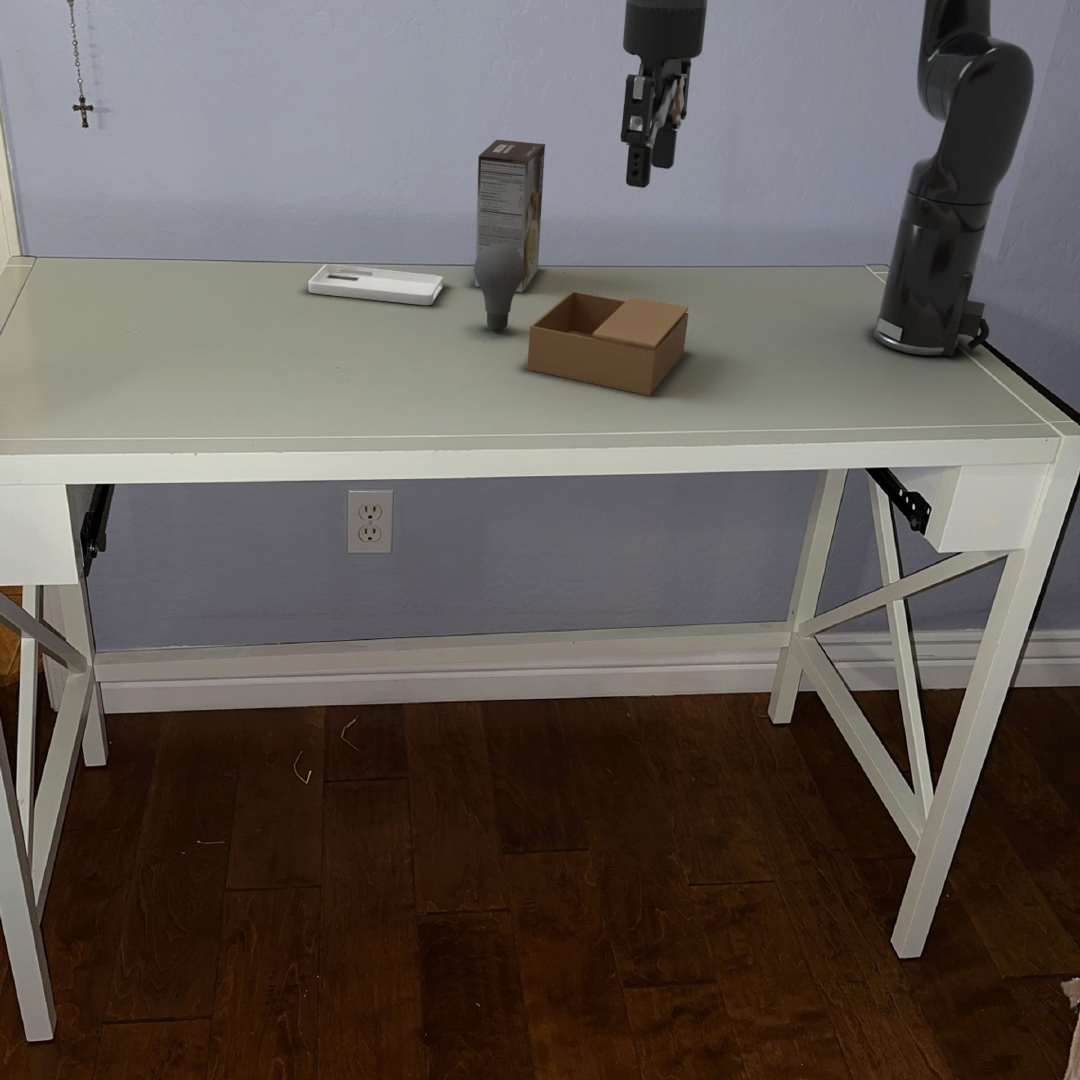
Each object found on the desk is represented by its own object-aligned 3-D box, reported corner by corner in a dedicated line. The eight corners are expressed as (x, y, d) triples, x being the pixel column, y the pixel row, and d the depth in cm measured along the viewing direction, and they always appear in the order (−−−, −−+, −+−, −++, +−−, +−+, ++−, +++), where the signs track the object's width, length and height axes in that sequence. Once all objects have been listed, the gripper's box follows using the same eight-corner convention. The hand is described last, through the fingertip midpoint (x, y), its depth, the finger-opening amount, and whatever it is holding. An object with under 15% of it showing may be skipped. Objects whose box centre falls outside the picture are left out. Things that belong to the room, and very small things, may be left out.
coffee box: (490, 264, 151) (495, 137, 143) (538, 270, 150) (546, 143, 142) (473, 287, 144) (477, 154, 135) (523, 293, 143) (531, 160, 134)
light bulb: (492, 344, 128) (495, 255, 123) (462, 328, 132) (464, 241, 127) (531, 334, 131) (536, 247, 126) (501, 319, 135) (505, 234, 130)
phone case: (307, 293, 138) (430, 306, 137) (306, 282, 138) (430, 295, 136) (325, 273, 145) (443, 286, 143) (325, 263, 144) (444, 275, 143)
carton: (683, 354, 129) (688, 313, 127) (649, 395, 119) (655, 352, 117) (569, 331, 133) (572, 290, 131) (527, 369, 123) (529, 326, 120)
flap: (688, 309, 126) (688, 306, 126) (654, 348, 116) (655, 345, 116) (630, 299, 128) (630, 296, 128) (592, 335, 118) (592, 333, 118)
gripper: (685, 11, 101) (666, 199, 110) (724, -5, 112) (704, 166, 121) (603, 3, 103) (591, 187, 112) (650, -12, 115) (635, 156, 123)
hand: (650, 176), depth 116 cm, fingers open, 8 cm apart
